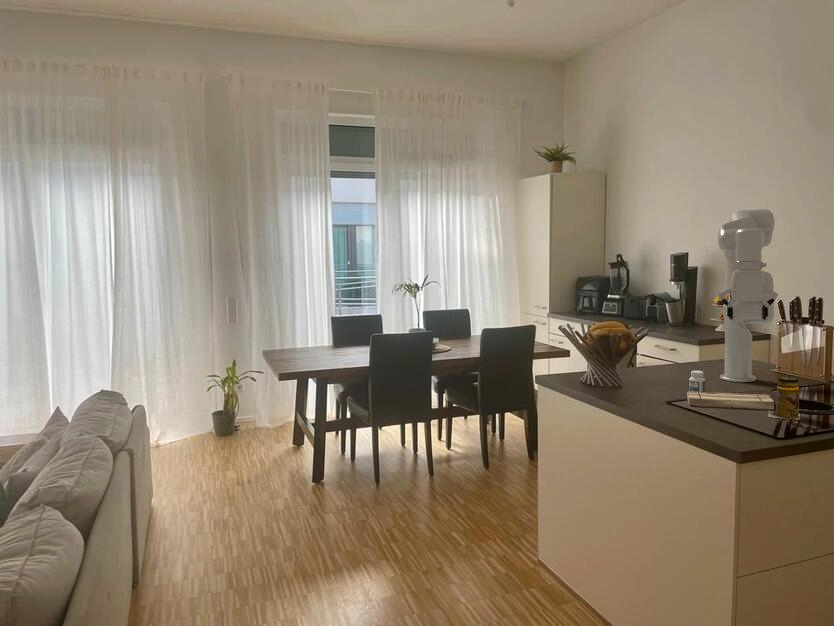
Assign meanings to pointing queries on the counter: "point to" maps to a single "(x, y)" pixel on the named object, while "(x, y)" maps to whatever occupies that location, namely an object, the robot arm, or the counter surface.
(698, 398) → the plank
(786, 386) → the condiment
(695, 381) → the pill bottle
